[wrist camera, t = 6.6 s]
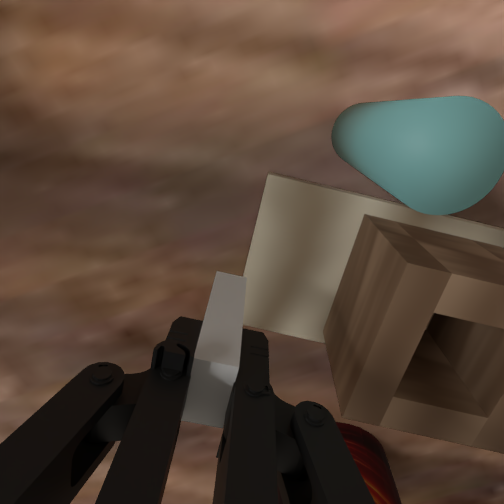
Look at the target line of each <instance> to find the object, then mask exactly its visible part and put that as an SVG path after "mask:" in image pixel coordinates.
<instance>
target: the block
mask: <svg viewBox="0 0 504 504" xmlns="http://www.w3.org/2000/svg"><path fill="white" fill-rule="evenodd" d="M433 313H434V315H433V317H432V314H433ZM431 317H432V320H431V322H430V324H429V326H428V328H427V330H425V329H426V327H427V325H428V323H429V321H430V319H431ZM323 335H324V339H325V344H326V348H327V353H328V357H329V361H330V366H331V370H332V375H333V379H334V384H335V388H336V393H337V397H338V402H339V406H340V411H341V415H342V418H345V419H349V420H354V421H359V422H363V423H368V424H372V425H377V426H381V427H386V428H390V429H395V430H399V431H404V432H408V433H413V434H417V435H422V436H426V437H431V438H435V439H440V440H444V441H449V442H453V443H458V444H462V445H467V446H471V447H476V448H481V449H485V450H490V451H494V452H499V453H503V454H504V249H503V248H502V247H500V246H496V245H492V244H488V243H484V242H480V241H475V240H471V239H467V238H463V237H459V236H455V235H450V234H446V233H442V232H438V231H434V230H430V229H426V228H421V227H417V226H413V225H409V224H405V223H401V222H396V221H392V220H388V219H384V218H380V217H376V216H371V215H367V214H364V217H363V220H362V222H361V225H360V228H359V231H358V234H357V236H356V239H355V242H354V245H353V248H352V251H351V253H350V256H349V259H348V262H347V265H346V267H345V270H344V273H343V276H342V279H341V281H340V284H339V287H338V290H337V293H336V295H335V298H334V301H333V304H332V307H331V309H330V312H329V315H328V318H327V321H326V324H325V326H324V329H323Z"/></svg>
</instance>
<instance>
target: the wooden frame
mask: <svg viewBox="0 0 504 504" xmlns="http://www.w3.org/2000/svg"><path fill="white" fill-rule="evenodd" d="M364 214H367V215H371V216H376V217H380V218H384V219H388V220H392V221H396V222H401V223H405V224H409V225H413V226H417V227H421V228H426V229H430V230H434V231H438V232H442V233H446V234H450V235H455V236H459V237H463V238H467V239H471V240H475V241H480V242H484V243H488V244H492V245H496V246H500V247H502V248H503V249H504V228H500V227H496V226H492V225H488V224H483V223H479V222H475V221H471V220H467V219H463V218H459V217H454V216H450V215H429V214H424V213H421V212H418V211H416V210H414V209H412V208H410V207H409V206H407V205H405V204H401V203H397V202H392V201H388V200H384V199H380V198H376V197H372V196H368V195H364V194H359V193H355V192H351V191H347V190H343V189H339V188H335V187H330V186H326V185H322V184H318V183H314V182H310V181H306V180H302V179H297V178H293V177H289V176H285V175H281V174H277V173H273V172H268V176H267V180H266V184H265V188H264V192H263V196H262V200H261V204H260V208H259V212H258V217H257V221H256V225H255V229H254V233H253V237H252V241H251V245H250V249H249V253H248V258H247V262H246V266H245V270H244V274H243V277H247V281H246V293H245V305H244V316H243V325H246V326H250V327H254V328H259V329H263V330H268V331H272V332H276V333H281V334H285V335H289V336H294V337H298V338H303V339H307V340H311V341H316V342H320V343H325V339H324V335H323V329H324V326H325V324H326V321H327V318H328V315H329V312H330V309H331V307H332V304H333V301H334V298H335V295H336V293H337V290H338V287H339V284H340V281H341V279H342V276H343V273H344V270H345V267H346V265H347V262H348V259H349V256H350V253H351V251H352V248H353V245H354V242H355V239H356V236H357V234H358V231H359V228H360V225H361V222H362V220H363V217H364ZM433 315H434V313H433V314H432V317H433ZM432 317H431V319H430V321H429V323H428V325H427V327H426V329H425V330H427V328H428V326H429V324H430V322H431V320H432Z"/></svg>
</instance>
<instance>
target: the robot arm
mask: <svg viewBox="0 0 504 504" xmlns="http://www.w3.org/2000/svg"><path fill="white" fill-rule="evenodd" d="M246 281H247V277H242V276H237V275H233V274H228V273H224V272H219V271H217V272H216V276H215V279H214V283H213V287H212V291H211V294H210V298H209V302H208V305H207V309H206V313H205V317H204V320H203V321H201V320H196V319H191V318H186V317H181V316H180V317H179V318H178V319H176V320H175V321H174V322H173V323H172V326H171V328H170V331H169V333H168V336H167V338H166V340H165V341H163V342H161V343H159V344H157V345H156V347H155V348H154V350H153V357H152V363H151V369H149V370H147V371H145V372H141V373H135V374H124V372H123V370H122V369H121V367H119V366H117V365H116V364H113V363H109V362H98V363H95V364H92V365H89V366H88V367H86V368H85V369H83V370H82V371H81V372H80V373H79V374H78V375H76V376H75V377H74V378H73V379H72V380H71V381H70V382H69V383H68V384H66V385H65V386H64V387H63V388H62V389H61V390H60V391H59V392H58V393H57V394H55V395H54V396H53V397H52V398H51V399H50V400H49V401H48V402H47V403H45V404H44V405H43V406H42V407H41V408H40V409H39V410H38V411H37V412H35V413H34V414H33V415H32V416H31V417H30V418H29V419H28V420H27V421H25V422H24V423H23V424H22V425H21V426H20V427H19V428H18V429H17V430H15V431H14V432H13V433H12V434H11V435H10V436H9V437H8V438H7V439H5V440H4V441H3V442H2V443H1V444H0V504H70V503H71V501H72V500H73V499H74V497H75V496H76V495H77V493H78V492H79V491H80V489H81V488H82V487H83V485H84V484H85V483H86V481H87V480H88V479H89V477H90V476H91V475H92V473H93V472H94V471H95V469H96V468H97V467H98V465H99V464H100V463H101V461H102V460H103V459H104V457H105V456H106V455H107V453H108V452H109V451H110V449H111V448H112V447H113V445H114V444H115V442H116V441H120V440H121V442H120V444H119V447H118V449H117V452H116V454H115V456H114V459H113V461H112V464H111V466H110V469H109V471H108V473H107V476H106V478H105V481H104V483H103V485H102V488H101V490H100V493H99V495H98V498H97V500H96V502H95V504H161V502H162V498H163V493H164V489H165V485H166V481H167V477H168V473H169V469H170V465H171V461H172V457H173V453H174V449H175V445H176V441H177V437H178V433H179V428H180V423H181V421H187V422H192V423H197V424H202V425H208V426H213V427H218V428H223V426H224V430H223V434H222V437H221V441H220V445H219V449H218V452H217V456H216V457H217V458H218V465H217V473H216V481H215V489H214V497H213V504H278V487H279V491H280V494H281V498H282V502H283V504H375V501H374V499H373V497H372V495H371V493H370V491H369V489H368V487H367V485H366V483H365V481H364V479H363V477H362V475H361V473H360V471H359V469H358V467H357V465H356V463H355V461H354V459H353V457H352V455H351V453H350V451H349V449H348V447H347V445H346V443H345V441H344V439H343V436H342V434H341V432H340V430H339V428H338V426H337V424H336V422H335V420H334V418H333V416H332V415H331V414H330V412H329V411H328V410H327V409H326V408H325V407H323V406H322V405H320V404H318V403H316V402H311V401H304V402H300V403H299V404H298V405H296V407H294V406H292V405H290V404H288V403H286V402H284V401H282V400H281V399H279V398H278V397H277V396H276V395H275V394H274V392H273V388H272V386H271V385H270V383H269V358H268V357H269V351H268V350H269V349H268V340H267V338H266V336H265V335H264V333H262V332H258V331H253V330H248V329H243V316H244V305H245V293H246ZM277 484H278V485H277Z"/></svg>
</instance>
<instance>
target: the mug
mask: <svg viewBox="0 0 504 504" xmlns="http://www.w3.org/2000/svg"><path fill="white" fill-rule="evenodd" d="M336 424H337V426H338V428H339V430H340V432H341V434H342V436H343V439H344V441H345V443H346V445H347V447H348V449H349V451H350V453H351V455H352V457H353V459H354V461H355V463H356V465H357V467H358V469H359V471H360V473H361V475H362V477H363V479H364V481H365V483H366V485H367V487H368V489H369V491H370V493H371V495H372V497H373V499H374V501H375V504H402V503H401V500H400V497H399V494H398V491H397V488H396V485H395V482H394V479H393V476H392V473H391V470H390V467H389V463H388V460H387V457H386V454H385V452H384V449H383V447H382V445H381V444H380V443H379V441H378V440H377V439H376V438H375V437H374V436H373V435H371V434H370V433H369V432H367V431H365V430H363V429H362V428H360V427H357V426H354V425H350V424H345V423H339V422H336ZM277 485H278V484H277ZM278 504H283V502H282V498H281V494H280V491H279V487H278Z"/></svg>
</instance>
